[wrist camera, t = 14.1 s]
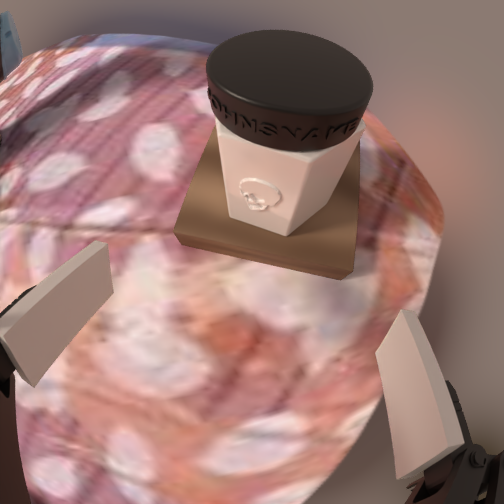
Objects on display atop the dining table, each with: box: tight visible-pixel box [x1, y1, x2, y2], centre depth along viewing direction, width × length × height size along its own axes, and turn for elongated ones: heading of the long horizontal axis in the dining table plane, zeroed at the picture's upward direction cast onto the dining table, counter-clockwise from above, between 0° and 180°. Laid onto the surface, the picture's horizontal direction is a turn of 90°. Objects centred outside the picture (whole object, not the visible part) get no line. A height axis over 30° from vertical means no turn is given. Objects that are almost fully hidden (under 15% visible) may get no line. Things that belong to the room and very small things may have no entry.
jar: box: [206, 30, 373, 236], centre depth 16 cm, size 9×8×12 cm
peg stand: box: [173, 124, 360, 280], centre depth 20 cm, size 14×14×10 cm
